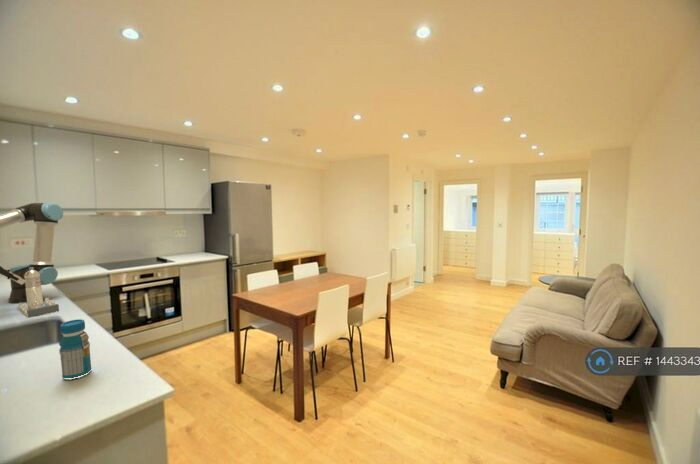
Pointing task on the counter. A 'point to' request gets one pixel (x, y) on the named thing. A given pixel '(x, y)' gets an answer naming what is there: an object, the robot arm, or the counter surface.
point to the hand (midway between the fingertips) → (21, 281)
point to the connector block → (42, 310)
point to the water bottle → (33, 289)
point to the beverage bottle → (74, 349)
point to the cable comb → (24, 308)
